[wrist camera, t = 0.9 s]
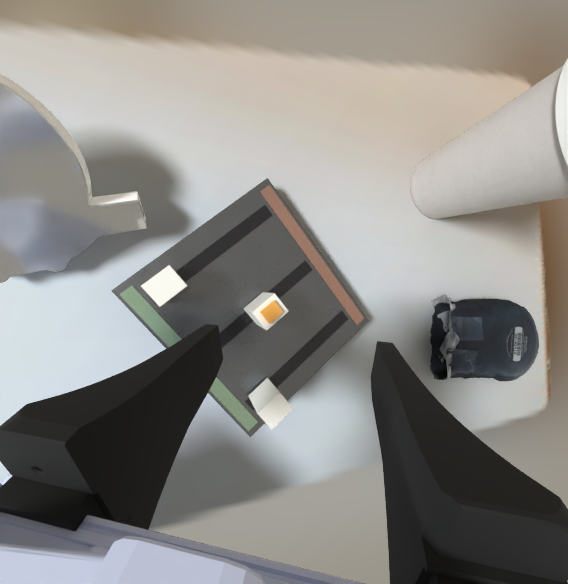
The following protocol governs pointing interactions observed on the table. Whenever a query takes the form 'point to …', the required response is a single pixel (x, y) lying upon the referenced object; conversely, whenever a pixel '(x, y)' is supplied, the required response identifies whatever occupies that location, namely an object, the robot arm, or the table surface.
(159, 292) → the block
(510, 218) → the table surface
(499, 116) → the coffee cup
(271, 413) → the block
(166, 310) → the grey slider switch panel
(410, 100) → the table surface
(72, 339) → the table surface
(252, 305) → the block
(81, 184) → the tabbed white plastic disc
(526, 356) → the electronic device
